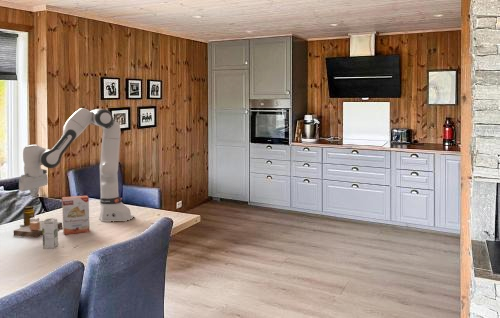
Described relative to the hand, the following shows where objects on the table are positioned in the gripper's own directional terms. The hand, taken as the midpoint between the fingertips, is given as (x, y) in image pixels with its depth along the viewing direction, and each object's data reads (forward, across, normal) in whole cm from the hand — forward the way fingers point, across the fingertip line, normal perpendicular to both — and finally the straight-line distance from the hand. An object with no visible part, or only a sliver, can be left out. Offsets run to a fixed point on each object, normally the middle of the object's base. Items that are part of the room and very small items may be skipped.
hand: (34, 195), depth 258 cm
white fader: (+17, -3, -1) cm, 17 cm away
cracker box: (+21, 0, -27) cm, 34 cm away
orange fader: (+17, -11, -8) cm, 22 cm away
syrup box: (+21, -27, -30) cm, 46 cm away
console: (+20, -4, -4) cm, 21 cm away
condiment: (+20, +4, +10) cm, 23 cm away
